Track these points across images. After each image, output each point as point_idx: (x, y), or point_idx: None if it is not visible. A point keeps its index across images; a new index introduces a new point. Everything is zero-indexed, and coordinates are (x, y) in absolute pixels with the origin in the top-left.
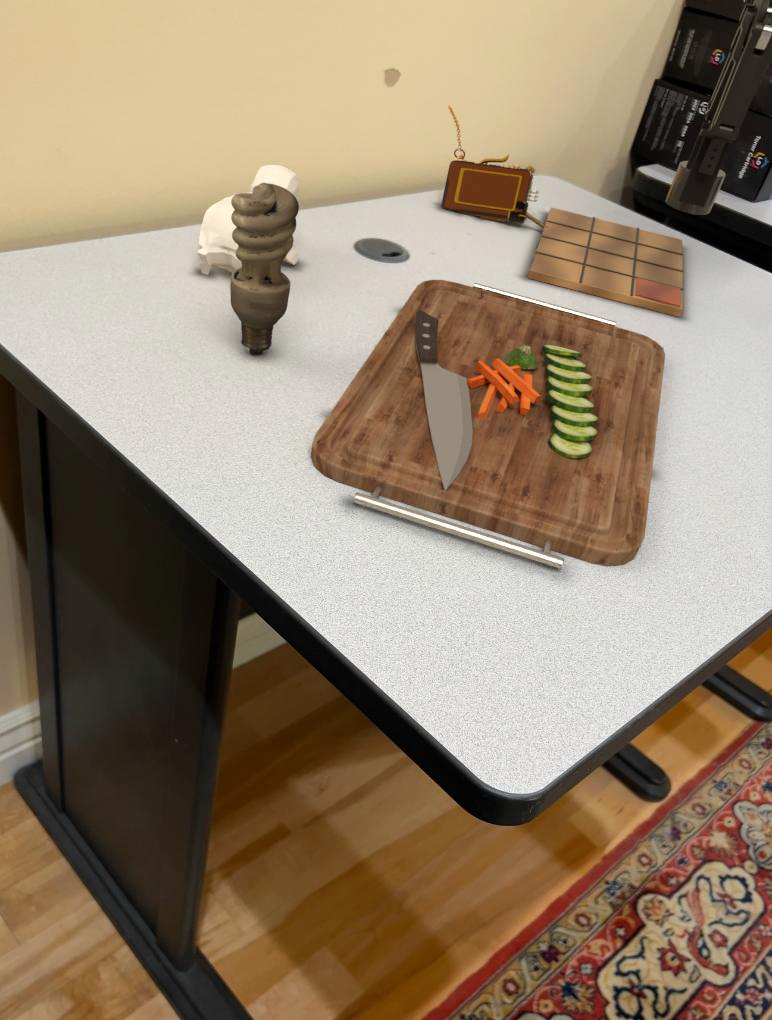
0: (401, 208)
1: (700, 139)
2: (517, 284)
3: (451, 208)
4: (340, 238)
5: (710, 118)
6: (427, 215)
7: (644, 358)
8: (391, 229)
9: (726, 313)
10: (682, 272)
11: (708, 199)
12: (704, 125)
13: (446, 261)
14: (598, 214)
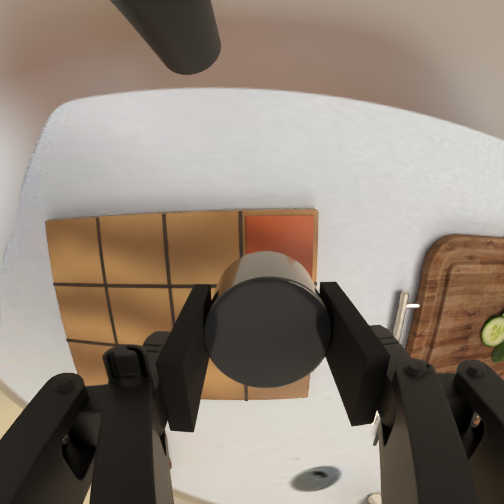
0: (203, 486)
1: (199, 395)
2: (328, 395)
3: (170, 462)
4: (308, 497)
5: (164, 428)
6: (201, 473)
7: (463, 255)
8: (262, 485)
9: (253, 139)
10: (166, 213)
11: (310, 279)
12: (194, 425)
13: (308, 449)
14: (34, 325)
